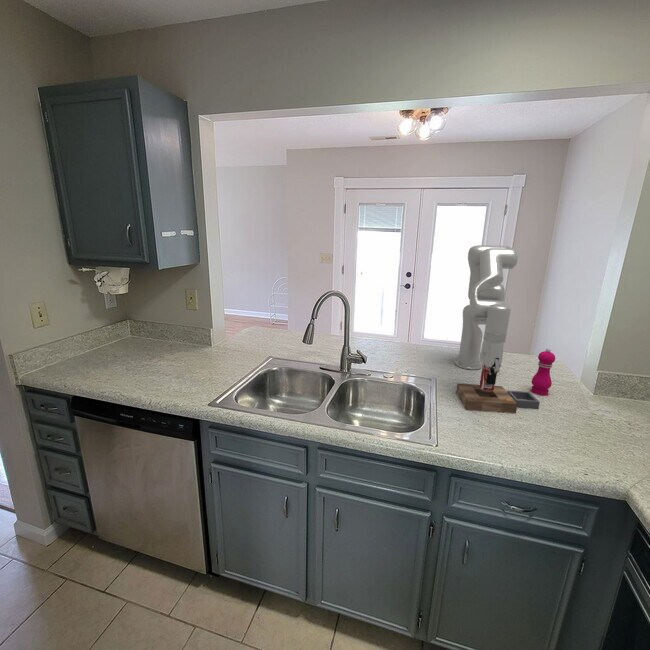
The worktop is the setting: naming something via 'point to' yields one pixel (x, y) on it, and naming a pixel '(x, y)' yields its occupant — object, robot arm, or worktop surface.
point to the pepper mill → (543, 373)
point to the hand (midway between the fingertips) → (487, 380)
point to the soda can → (483, 384)
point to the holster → (528, 403)
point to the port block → (486, 399)
